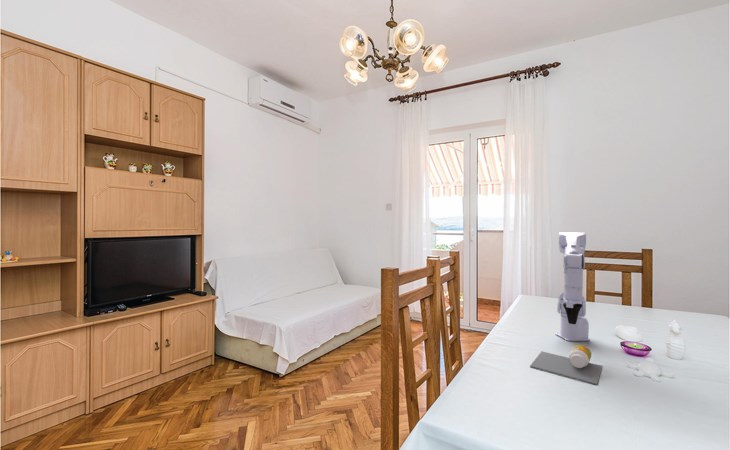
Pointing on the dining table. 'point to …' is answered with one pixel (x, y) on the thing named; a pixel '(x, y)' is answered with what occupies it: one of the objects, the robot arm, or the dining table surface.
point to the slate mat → (567, 367)
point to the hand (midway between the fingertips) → (572, 323)
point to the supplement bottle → (580, 356)
